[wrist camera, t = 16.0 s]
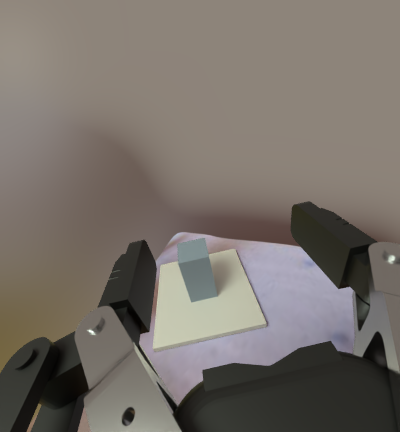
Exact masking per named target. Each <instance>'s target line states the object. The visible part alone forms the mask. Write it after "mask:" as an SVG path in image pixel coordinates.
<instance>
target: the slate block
mask: <svg viewBox="0 0 400 432" xmlns="http://www.w3.org/2000/svg"><path fill="white" fill-rule="evenodd" d="M178 265H179V268H180V271H181V274H182V277H183V280H184V283H185V286H186V289H187V291H188V294H189V297H190V300H191V303H192V302H196V301H200V300H205V299H209V298H213V297H218V295H217V291H216V286H215V281H214V277H213V272H212V268H211V263H210V259H209V254H208V250H207V246H206V242H205V238H201V239H197V240H193V241H188V242H184V243H179V244H178Z"/></svg>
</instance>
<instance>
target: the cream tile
mask: <svg viewBox="0 0 400 432" xmlns="http://www.w3.org/2000/svg"><path fill="white" fill-rule="evenodd" d="M209 259H210V263H211V268H212V272H213V277H214V281H215V286H216V291H217V295H218V297H213V298H209V299H205V300H200V301H196V302H192V303H191V300H190V297H189V294H188V291H187V289H186V286H185V283H184V280H183V277H182V274H181V271H180V268H179V265H178V261H177V262H172V263H168V264H163V265H161V268H160V279H159V289H158V299H157V310H156V320H155V331H154V341H153V350H154V352H157V351H162V350H166V349H171V348H175V347H180V346H184V345H188V344H193V343H197V342H202V341H206V340H211V339H215V338H220V337H224V336H228V335H233V334H237V333H242V332H246V331H251V330H255V329H259V328H264V327H267V323H266V321H265V318H264V316H263V314H262V311H261V309H260V307H259V304H258V302H257V300H256V297H255V295H254V293H253V290H252V288H251V286H250V283H249V281H248V279H247V276H246V274H245V271H244V269H243V267H242V264H241V262H240V260H239V257H238V255H237V253H236V250H235V249H231V250H226V251H222V252H217V253H213V254H209Z"/></svg>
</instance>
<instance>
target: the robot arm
mask: <svg viewBox="0 0 400 432" xmlns="http://www.w3.org/2000/svg"><path fill="white" fill-rule="evenodd" d="M291 216H292V217H291V233H292V236H293V238H294V239H295V241H296V242H297V243H298V244H299V245H300V246H301V247H302V249H303V250H304V251H305V252H306V253H307V254H308V255H309V256H310V258H311V259H312V260H313V261H314V262H315V263H316V264H317V265H318V266H319V268H320V269H321V270H322V271H323V272H324V273H325V274H326V275H327V277H328V278H329V279H330V280H331V281H332V282H333V283H334V284H335V285H336V287H337V288H338V289H341V288H346V287H351V288H352V289H353V290H354V291H353V294H352V298H353V314H354V330H355V340H354V346H353V354H350V353H346V352H341V351H337V350H336V348H335V347H334V345H333V344H332V342H331V341H328V342H324V343H319V344H315V345H311V346H306V347H302V348H299V349H297V350H295V351H294V352H292V353H291V354H289V355H287V356H286V357H284V358H283V359H281V360H279V361H278V362H276V363H275V364H273V365H271V366H262V365H251V364H239V363H232V364H227V365H223V366H218V367H214V368H210V369H205V370H203V381H202V382H200V383H199V384H197V385H196V386H195V387H194V388H193V389H191V391H190V392H189V393H188V394H187V395H186V396H185V397H184V398H183V400H182V401H181V403H180V404H179V405H178V403H177V402H176V400H175V399H174V397H173V396H172V394H171V392H170V391H169V390H168V388H167V387H166V385H165V384H164V382H163V381H162V379H161V378H160V376H159V374H158V373H157V371H156V369H155V368H154V366H153V365H152V363H151V361H150V360H149V358H148V357H147V355H146V353H145V352H144V350H143V348H142V347H141V345H140V344H139V340H140V334H142V333H146V332H149V330H150V322H151V313H152V305H153V297H154V289H155V280H156V272H157V268H156V263H155V260H154V258H153V255H152V253H151V251H150V249H149V247H148V245H147V242H146V241H145V240H141V241H137V242H133V243H130V244H129V246H128V249H127V252H126V254H123V255H121V256H120V258H119V259H118V260H117V261H116V262H115V265H114V267H113V270H112V273H111V275H110V277H109V280H108V282H107V285H106V287H105V290H104V293H103V295H102V298H101V300H100V303H99V305H98V308H97V309H95V310H93V311H91V312H90V313H89V314H88V315H86V316H85V317H84V318H83V320H82V321H81V322H80V323H79V325H78V327H77V329H76V331H74V332H73V333H71V334H69V335H67V336H65V337H63V338H61V339H59V340H58V341H56V342H54V343H52V342H51V341H50V340H49V339H47V338H45V337H41V338H37V339H34V340H32V341H30V342H29V343H27V344H26V345H24V346H23V347H22V348H20V349H19V350H18V351H17V352H16V353H15V354H14V355H13V356H12V357H11V359H10V360H9V361H8V362H7V364H6V365H5V367H4V368H3V370H2V372H1V373H0V432H26V431H27V429H28V427H29V424H30V422H31V420H32V417H33V415H34V413H35V410H36V408H37V406H38V403H39V404H41V405H42V406H41V408H40V410H39V413H38V415H37V418H36V420H35V423H34V425H33V427H32V430H31V432H77V431H78V427H79V423H80V420H81V416H82V412H83V408H84V406H85V410H86V414H87V418H88V422H89V426H90V430H91V432H400V244H396V243H390V242H377V241H375V240H374V239H372V238H371V237H369V236H368V235H366V234H365V233H364V232H362V231H360V230H359V229H357V228H356V227H355V226H353V225H351V224H349V223H348V222H347V221H345V220H344V219H342V218H341V217H340V216H338V215H336V214H335V213H334V212H331V211H329V210H326V209H323V208H321V209H320V208H318V207H317V206H316V205H314V204H312V203H311V202H304V203H300V204H296V205H293V207H292V215H291ZM88 390H89V391H88Z"/></svg>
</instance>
